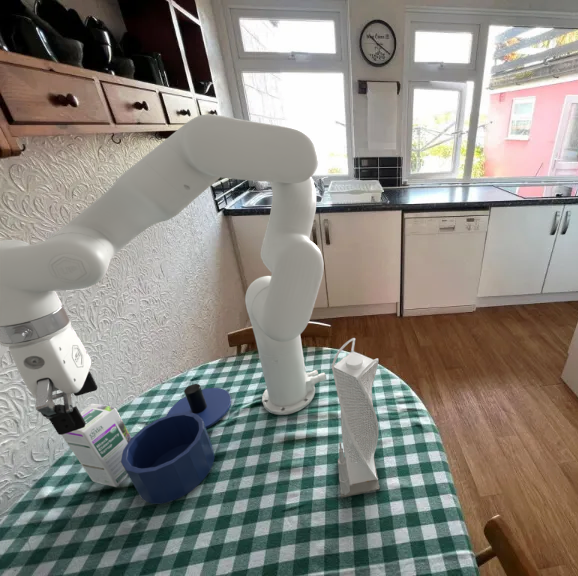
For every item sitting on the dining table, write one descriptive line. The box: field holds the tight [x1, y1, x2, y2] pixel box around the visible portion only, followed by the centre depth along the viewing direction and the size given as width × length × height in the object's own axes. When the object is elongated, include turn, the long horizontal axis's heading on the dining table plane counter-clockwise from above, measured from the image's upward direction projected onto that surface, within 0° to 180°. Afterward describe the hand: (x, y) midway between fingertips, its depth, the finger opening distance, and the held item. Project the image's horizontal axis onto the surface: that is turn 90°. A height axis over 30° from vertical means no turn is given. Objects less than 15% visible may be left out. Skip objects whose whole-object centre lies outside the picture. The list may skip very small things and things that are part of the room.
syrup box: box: [61, 403, 132, 488], centre depth 57 cm, size 6×6×14 cm
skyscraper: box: [331, 337, 380, 499], centre depth 54 cm, size 8×8×28 cm
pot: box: [121, 412, 215, 505], centre depth 59 cm, size 13×13×8 cm
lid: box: [166, 383, 232, 429], centre depth 72 cm, size 14×14×7 cm
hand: (80, 409), depth 53 cm, fingers open, 9 cm apart
